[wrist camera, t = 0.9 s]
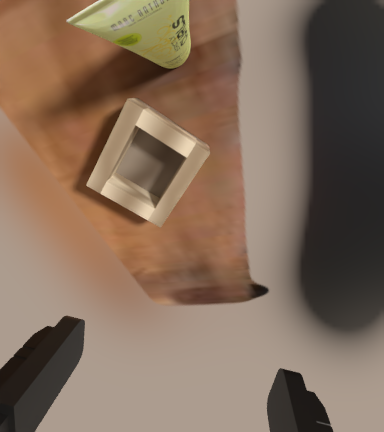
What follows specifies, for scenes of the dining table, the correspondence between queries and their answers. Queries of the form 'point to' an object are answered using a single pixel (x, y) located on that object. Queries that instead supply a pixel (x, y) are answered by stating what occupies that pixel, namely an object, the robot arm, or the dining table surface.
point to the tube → (141, 27)
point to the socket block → (147, 162)
